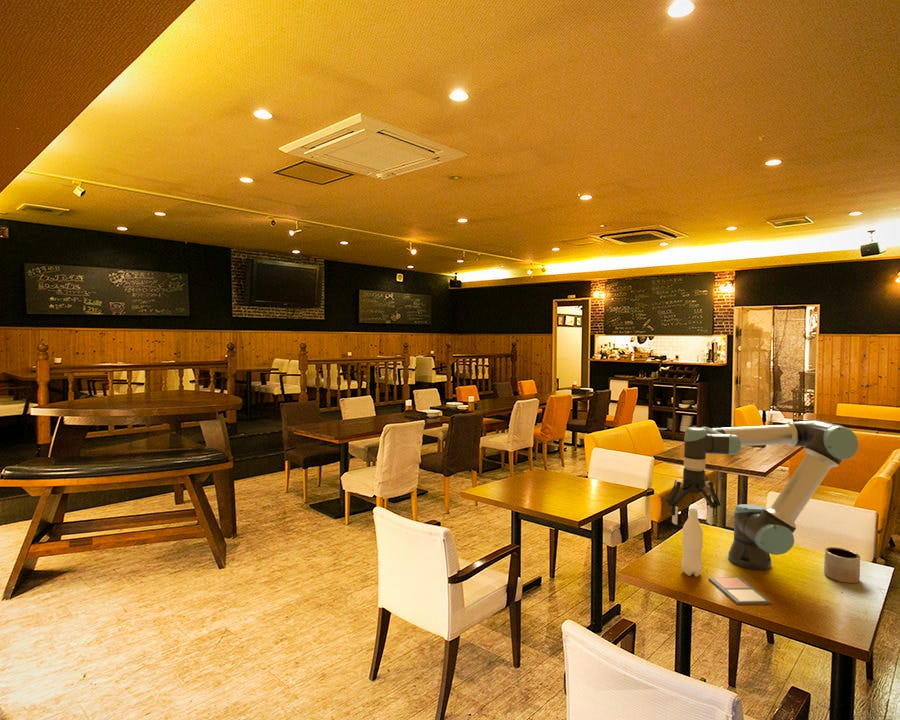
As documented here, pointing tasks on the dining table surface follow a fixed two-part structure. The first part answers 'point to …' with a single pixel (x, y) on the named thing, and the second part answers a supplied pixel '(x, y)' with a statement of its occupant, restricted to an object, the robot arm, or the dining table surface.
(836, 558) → the planter
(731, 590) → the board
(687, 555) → the water bottle
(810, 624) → the dining table surface
